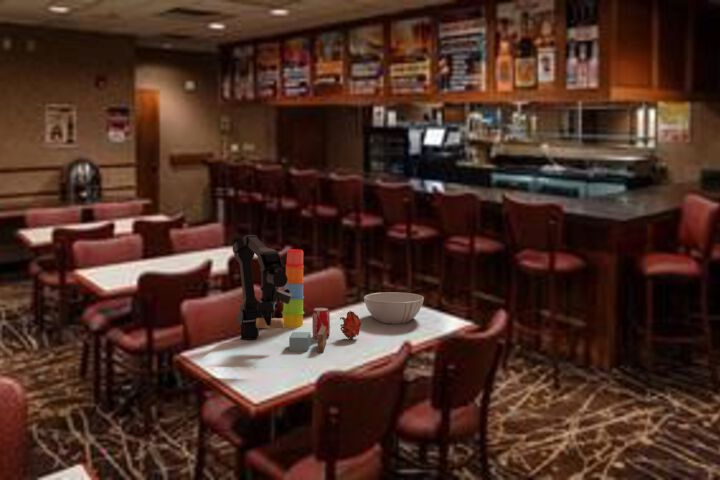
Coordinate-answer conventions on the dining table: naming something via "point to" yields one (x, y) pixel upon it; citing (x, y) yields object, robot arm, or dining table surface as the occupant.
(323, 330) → the wall
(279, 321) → the dowel
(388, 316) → the decorative bowl
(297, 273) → the stacking cups
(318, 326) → the soda can
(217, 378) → the dining table surface
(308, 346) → the block
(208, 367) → the dining table surface
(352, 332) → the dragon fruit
